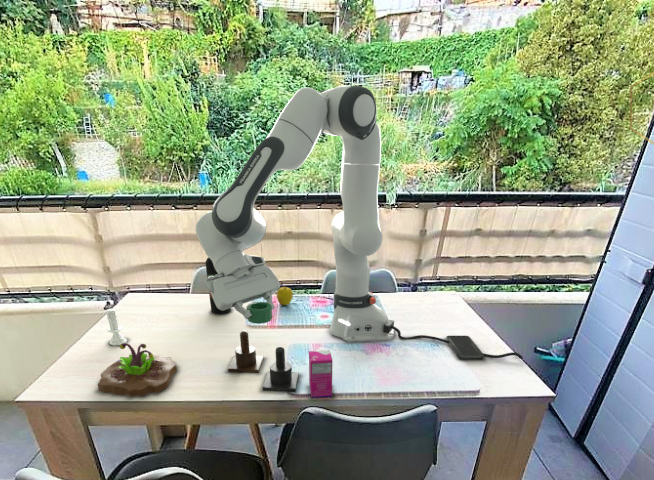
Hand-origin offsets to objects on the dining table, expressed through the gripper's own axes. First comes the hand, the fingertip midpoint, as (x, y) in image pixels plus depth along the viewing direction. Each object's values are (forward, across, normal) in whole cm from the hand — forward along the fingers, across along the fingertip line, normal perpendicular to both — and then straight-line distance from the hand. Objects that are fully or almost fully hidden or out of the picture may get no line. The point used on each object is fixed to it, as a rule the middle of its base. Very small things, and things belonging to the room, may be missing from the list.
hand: (261, 313), depth 111 cm
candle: (-23, -19, +50) cm, 58 cm away
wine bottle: (-21, +21, +48) cm, 57 cm away
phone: (+38, +55, -11) cm, 68 cm away
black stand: (+18, 0, +8) cm, 20 cm away
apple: (-12, +43, +39) cm, 59 cm away
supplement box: (+26, +4, +1) cm, 27 cm away
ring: (+1, 0, +2) cm, 2 cm away
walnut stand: (+8, 0, +19) cm, 21 cm away
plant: (-4, -26, +31) cm, 41 cm away
